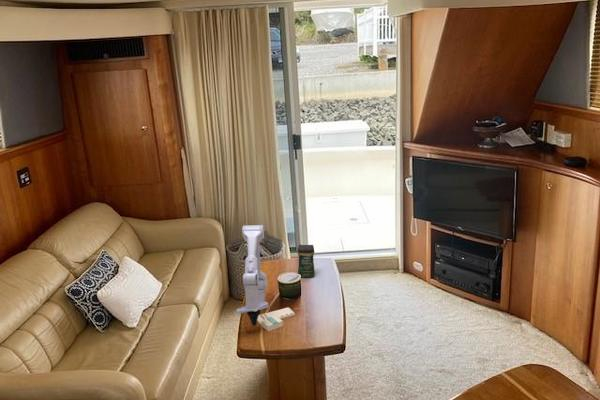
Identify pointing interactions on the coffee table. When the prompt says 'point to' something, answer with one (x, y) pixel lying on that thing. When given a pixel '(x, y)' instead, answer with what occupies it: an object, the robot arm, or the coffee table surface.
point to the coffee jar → (306, 261)
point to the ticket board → (276, 314)
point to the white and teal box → (272, 323)
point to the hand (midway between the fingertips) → (253, 324)
